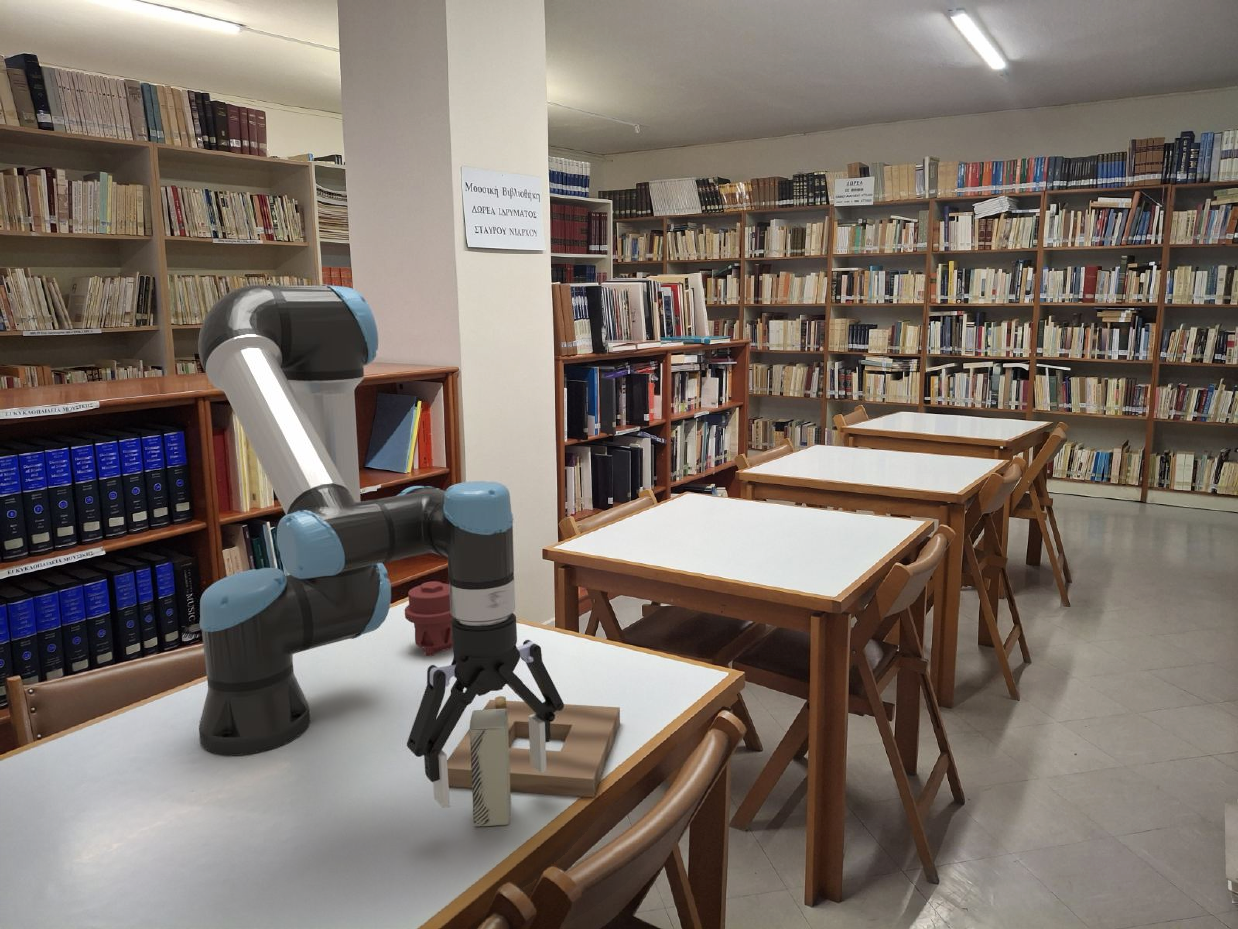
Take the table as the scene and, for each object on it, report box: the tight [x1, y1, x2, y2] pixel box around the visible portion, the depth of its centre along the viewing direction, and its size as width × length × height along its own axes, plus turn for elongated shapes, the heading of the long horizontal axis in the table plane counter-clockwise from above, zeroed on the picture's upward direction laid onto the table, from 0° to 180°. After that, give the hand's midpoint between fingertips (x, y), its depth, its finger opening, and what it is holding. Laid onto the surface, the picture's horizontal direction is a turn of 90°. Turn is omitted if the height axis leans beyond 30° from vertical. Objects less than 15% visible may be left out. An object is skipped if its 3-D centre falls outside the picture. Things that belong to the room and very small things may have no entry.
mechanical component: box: [404, 580, 454, 657], centre depth 156 cm, size 12×10×10 cm
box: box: [469, 709, 512, 827], centre depth 103 cm, size 5×4×13 cm
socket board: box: [447, 695, 621, 798], centre depth 119 cm, size 20×20×4 cm
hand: (491, 784), depth 104 cm, fingers open, 12 cm apart
